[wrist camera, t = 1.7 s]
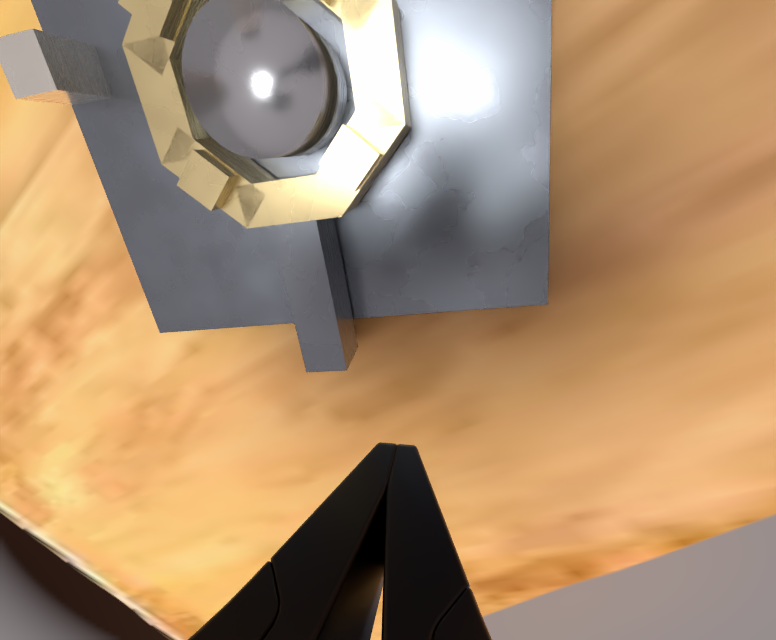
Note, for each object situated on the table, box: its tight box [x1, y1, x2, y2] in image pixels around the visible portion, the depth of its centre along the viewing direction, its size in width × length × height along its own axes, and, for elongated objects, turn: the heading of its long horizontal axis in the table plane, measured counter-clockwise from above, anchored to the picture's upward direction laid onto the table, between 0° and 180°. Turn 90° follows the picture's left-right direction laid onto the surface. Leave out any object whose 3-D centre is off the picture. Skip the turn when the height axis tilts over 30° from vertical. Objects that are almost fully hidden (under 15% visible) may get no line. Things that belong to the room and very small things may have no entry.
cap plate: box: [0, 0, 552, 333], centre depth 16 cm, size 21×21×5 cm
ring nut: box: [118, 0, 411, 372], centre depth 17 cm, size 17×10×3 cm, turn 8°
